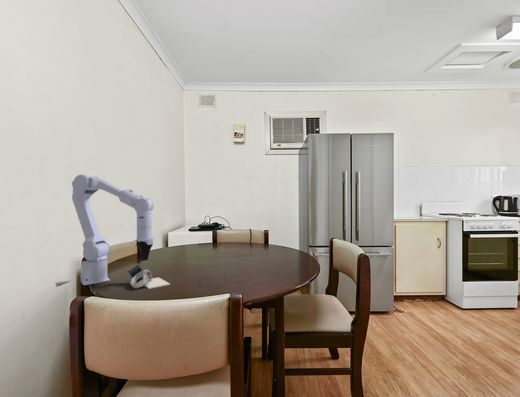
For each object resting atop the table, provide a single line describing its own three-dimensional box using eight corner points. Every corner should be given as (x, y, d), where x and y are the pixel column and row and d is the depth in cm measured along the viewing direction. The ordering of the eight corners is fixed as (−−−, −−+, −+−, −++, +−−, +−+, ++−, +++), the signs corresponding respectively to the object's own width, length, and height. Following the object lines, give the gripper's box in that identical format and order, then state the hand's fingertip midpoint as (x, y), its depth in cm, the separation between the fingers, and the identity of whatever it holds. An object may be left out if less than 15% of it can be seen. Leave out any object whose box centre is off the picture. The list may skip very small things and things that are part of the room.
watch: (148, 272, 116) (157, 280, 107) (130, 284, 112) (137, 294, 103) (142, 261, 114) (150, 269, 105) (123, 274, 110) (130, 283, 101)
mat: (149, 289, 104) (149, 287, 104) (139, 282, 113) (139, 281, 113) (169, 284, 109) (169, 283, 109) (158, 278, 118) (158, 277, 118)
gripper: (160, 227, 112) (160, 261, 112) (148, 225, 123) (148, 256, 123) (142, 229, 108) (142, 264, 107) (131, 226, 119) (131, 258, 119)
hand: (144, 260), depth 115 cm, fingers closed
